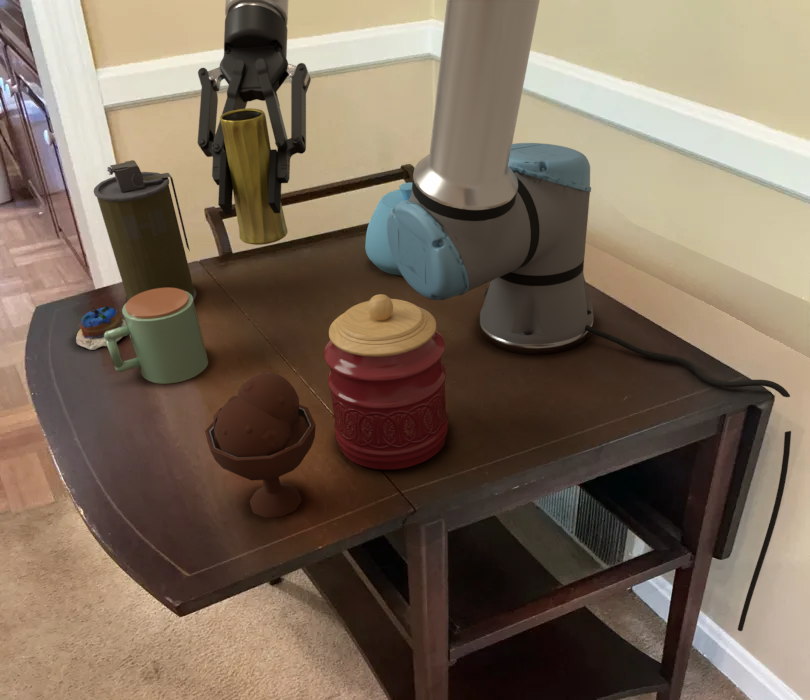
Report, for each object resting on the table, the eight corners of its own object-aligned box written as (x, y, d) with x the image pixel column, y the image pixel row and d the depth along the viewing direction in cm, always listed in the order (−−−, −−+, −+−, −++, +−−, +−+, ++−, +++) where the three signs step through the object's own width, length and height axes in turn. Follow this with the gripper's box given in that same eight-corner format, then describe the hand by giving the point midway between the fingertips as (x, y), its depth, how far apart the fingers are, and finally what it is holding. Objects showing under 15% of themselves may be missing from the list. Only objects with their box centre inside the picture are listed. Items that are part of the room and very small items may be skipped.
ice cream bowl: (270, 460, 96) (245, 341, 86) (347, 491, 91) (329, 369, 81) (203, 511, 90) (168, 389, 80) (281, 548, 85) (253, 422, 75)
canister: (134, 322, 125) (92, 183, 111) (123, 295, 132) (82, 161, 119) (206, 304, 128) (174, 167, 114) (191, 279, 135) (158, 147, 122)
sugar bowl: (375, 285, 129) (368, 209, 121) (359, 248, 140) (352, 175, 132) (471, 271, 130) (470, 194, 123) (447, 235, 141) (445, 162, 134)
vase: (279, 246, 105) (258, 122, 95) (232, 245, 106) (207, 122, 96) (293, 226, 109) (275, 106, 100) (249, 225, 110) (226, 107, 101)
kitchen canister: (315, 437, 99) (292, 296, 87) (403, 396, 104) (392, 258, 93) (380, 488, 91) (364, 340, 79) (472, 440, 96) (469, 295, 85)
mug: (217, 370, 112) (202, 304, 106) (129, 398, 108) (107, 332, 102) (195, 343, 118) (179, 279, 112) (111, 369, 114) (89, 304, 108)
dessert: (109, 312, 126) (110, 288, 121) (138, 345, 126) (140, 322, 120) (63, 337, 122) (62, 313, 117) (93, 371, 122) (93, 349, 117)
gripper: (337, 38, 105) (331, 220, 104) (195, 46, 108) (187, 224, 106) (324, -4, 98) (317, 191, 97) (171, 5, 100) (163, 196, 99)
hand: (249, 208), depth 101 cm, fingers closed on vase, 5 cm apart
